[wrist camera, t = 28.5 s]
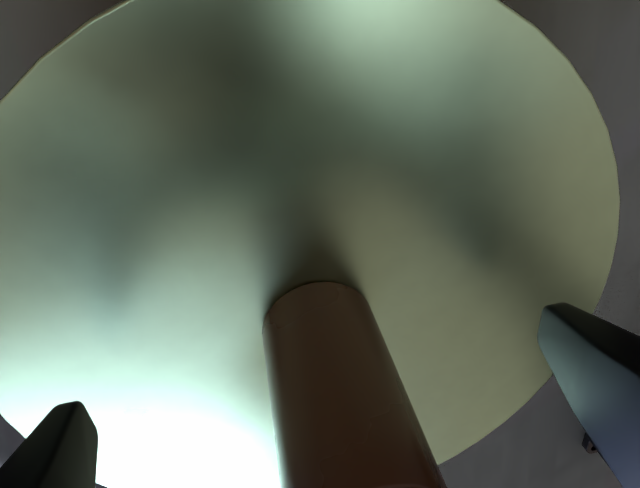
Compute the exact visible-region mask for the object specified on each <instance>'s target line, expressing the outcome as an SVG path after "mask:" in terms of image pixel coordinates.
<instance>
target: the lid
mask: <svg viewBox="0 0 640 488" xmlns="http://www.w3.org/2000/svg"><path fill="white" fill-rule="evenodd" d="M619 213H620V192H619V180H618V169H617V163H616V159H615V155H614V151H613V147H612V143H611V139H610V135H609V131H608V128H607V126H606V124H605V122H604V119H603V117H602V115H601V113H600V111H599V108H598V106H597V104H596V102H595V100H594V97H593V95H592V93H591V91H590V90H589V88H588V87H587V86H586V84H585V83H584V81H583V80H582V78H581V77H580V75H579V74H578V72H577V71H576V70H575V68H574V67H573V65H572V64H571V62H570V61H569V59H568V58H567V57H566V56H565V55H564V54H563V53H562V52H561V51H560V50H559V49H558V48H557V47H556V46H555V45H554V44H553V43H552V42H551V41H550V40H549V39H548V38H547V37H546V36H545V35H544V34H543V33H542V32H541V31H540V30H539V29H538V28H537V27H536V26H535V25H534V24H532V23H531V22H530V21H528V20H527V19H525V18H524V17H523V16H521V15H520V14H518V13H517V12H515V11H514V10H513V9H511V8H510V7H508V6H507V5H505V4H504V3H503V2H501V1H500V0H123V1H121V2H119V3H118V4H116V5H114V6H112V7H110V8H108V9H107V10H105V11H103V12H101V13H99V14H97V15H96V16H94V17H92V18H91V19H89V20H88V21H86V22H85V23H84V24H83V25H81V26H80V27H79V28H77V29H76V30H75V31H74V32H72V33H71V34H70V35H68V36H67V37H66V38H65V39H63V40H62V41H61V42H59V43H58V44H57V45H55V46H54V47H53V48H52V49H50V50H49V51H48V52H46V53H45V54H44V55H43V56H41V57H40V58H39V59H38V60H37V61H36V62H35V63H34V64H33V66H32V67H31V68H30V69H29V70H28V71H27V72H26V73H25V74H24V75H23V76H22V77H21V79H20V80H19V81H18V82H17V83H16V84H15V85H14V86H13V87H12V88H11V89H10V90H9V92H8V93H7V94H6V95H5V96H4V97H3V98H2V99H1V100H0V414H1V416H2V417H3V418H4V419H5V420H6V421H7V422H8V423H9V424H10V425H11V426H12V427H13V428H14V429H16V430H17V431H18V432H19V433H20V434H21V435H22V436H23V437H24V438H25V439H26V438H27V437H28V436H29V435H30V434H31V432H32V431H33V430H34V429H35V428H36V427H37V426H38V424H39V423H40V422H41V421H42V420H43V419H44V418H45V416H46V415H47V414H48V413H49V412H50V411H51V410H52V409H53V408H54V407H55V406H56V405H59V404H63V403H68V402H73V401H80V402H82V403H83V405H84V406H85V408H86V410H87V412H88V413H89V415H90V417H91V419H92V421H93V423H94V425H95V426H96V429H97V432H98V453H97V468H96V483H98V484H101V485H103V486H106V487H108V488H447V487H446V484H445V482H444V479H443V477H442V475H441V472H440V470H439V468H438V465H439V464H441V463H443V462H444V461H446V460H448V459H450V458H452V457H454V456H456V455H457V454H459V453H460V452H462V451H464V450H465V449H467V448H468V447H470V446H471V445H473V444H475V443H476V442H478V441H479V440H481V439H482V438H484V437H485V436H486V435H488V434H489V433H490V432H492V431H493V430H494V429H496V428H497V427H498V426H500V425H501V424H502V423H504V422H505V421H506V420H507V419H508V418H510V417H511V416H512V415H513V414H514V413H515V412H516V411H518V410H519V409H520V408H521V407H522V406H523V405H524V404H525V403H527V402H528V401H529V400H530V399H531V398H532V397H533V396H534V394H535V393H536V392H537V391H538V390H539V389H540V388H541V387H542V386H543V385H544V384H545V383H546V382H547V381H548V380H549V379H550V377H551V376H552V375H553V372H552V370H551V368H550V367H549V365H548V363H547V361H546V359H545V357H544V355H543V353H542V351H541V349H540V347H539V345H538V341H537V333H538V328H539V323H540V318H541V313H542V309H543V308H544V307H545V306H546V305H550V304H555V303H560V302H565V303H568V304H571V305H573V306H575V307H577V308H579V309H581V310H584V311H586V312H588V313H590V314H593V312H594V310H595V308H596V306H597V304H598V302H599V300H600V298H601V295H602V292H603V289H604V286H605V283H606V281H607V278H608V275H609V272H610V269H611V266H612V261H613V256H614V251H615V247H616V242H617V237H618V228H619Z"/></svg>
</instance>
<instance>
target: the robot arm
mask: <svg viewBox="0 0 640 488" xmlns="http://www.w3.org/2000/svg"><path fill="white" fill-rule="evenodd" d="M537 341H538V345H539V347H540V349H541V351H542V353H543V355H544V357H545V359H546V361H547V363H548V365H549V367H550V368H551V370H552V372H553V374H554V376H555V378H556V380H557V382H558V384H559V386H560V388H561V390H562V391H563V393H564V395H565V397H566V399H567V401H568V403H569V405H570V406H571V408H572V410H573V412H574V414H575V415H576V417H577V418H578V420H579V422H580V423H581V425H582V426H583V428H584V429H585V431H586V434H585V437H584V440H583V443H582V446H583V447H584V448H585V450H586V451H587V452H588V453H595V452H598V453H599V454H600V455H601V457H602V458H603V459H604V461H605V462H606V463H607V465H608V466H609V467H610V469H611V470H612V472H613V473H614V475H615V476H616V478H617V479H618V481H619V482H620V484H621V485H622V487H623V488H640V336H637V335H635V334H633V333H631V332H629V331H627V330H625V329H622V328H620V327H618V326H616V325H614V324H612V323H609V322H607V321H605V320H603V319H601V318H599V317H597V316H594V315H592V314H590V313H588V312H586V311H584V310H581V309H579V308H577V307H575V306H573V305H571V304H568V303H565V302H560V303H555V304H550V305H546V306H545V307H544V308H543V309H542V313H541V318H540V323H539V328H538V333H537ZM97 453H98V432H97V429H96V426H95V425H94V423H93V421H92V419H91V417H90V415H89V413H88V412H87V410H86V408H85V406H84V405H83V403H82V402H80V401H73V402H68V403H63V404H59V405H56V406H55V407H54V408H53V409H52V410H51V411H50V412H49V413H48V414H47V415H46V416H45V418H44V419H43V420H42V421H41V422H40V423H39V424H38V426H37V427H36V428H35V429H34V430H33V431H32V432H31V434H30V435H29V436H28V437H27V438H26V439H25V440H24V441H23V443H22V444H21V445H20V446H19V447H18V448H17V449H16V451H15V452H14V453H13V454H12V455H11V456H10V457H9V459H8V460H7V461H6V462H5V463H4V464H3V465H2V466H1V468H0V488H95V483H96V468H97Z"/></svg>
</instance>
